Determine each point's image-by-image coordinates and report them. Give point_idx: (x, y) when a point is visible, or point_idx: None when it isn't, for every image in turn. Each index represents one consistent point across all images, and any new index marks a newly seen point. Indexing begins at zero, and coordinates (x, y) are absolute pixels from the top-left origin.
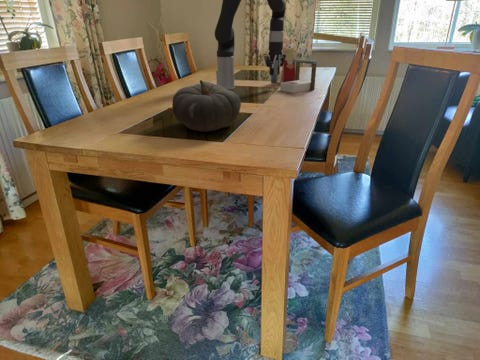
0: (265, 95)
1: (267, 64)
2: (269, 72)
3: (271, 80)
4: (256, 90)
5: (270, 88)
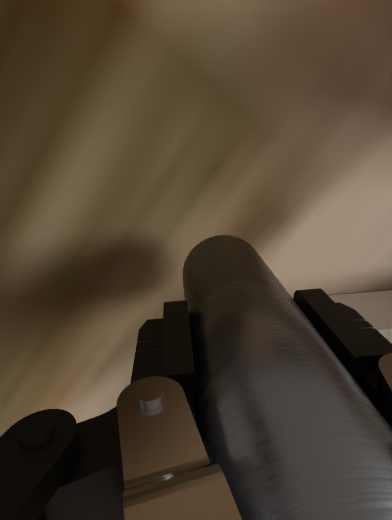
0: (10, 393)
1: (11, 495)
2: (137, 341)
3: (183, 286)
4: (37, 161)
5: (233, 164)
